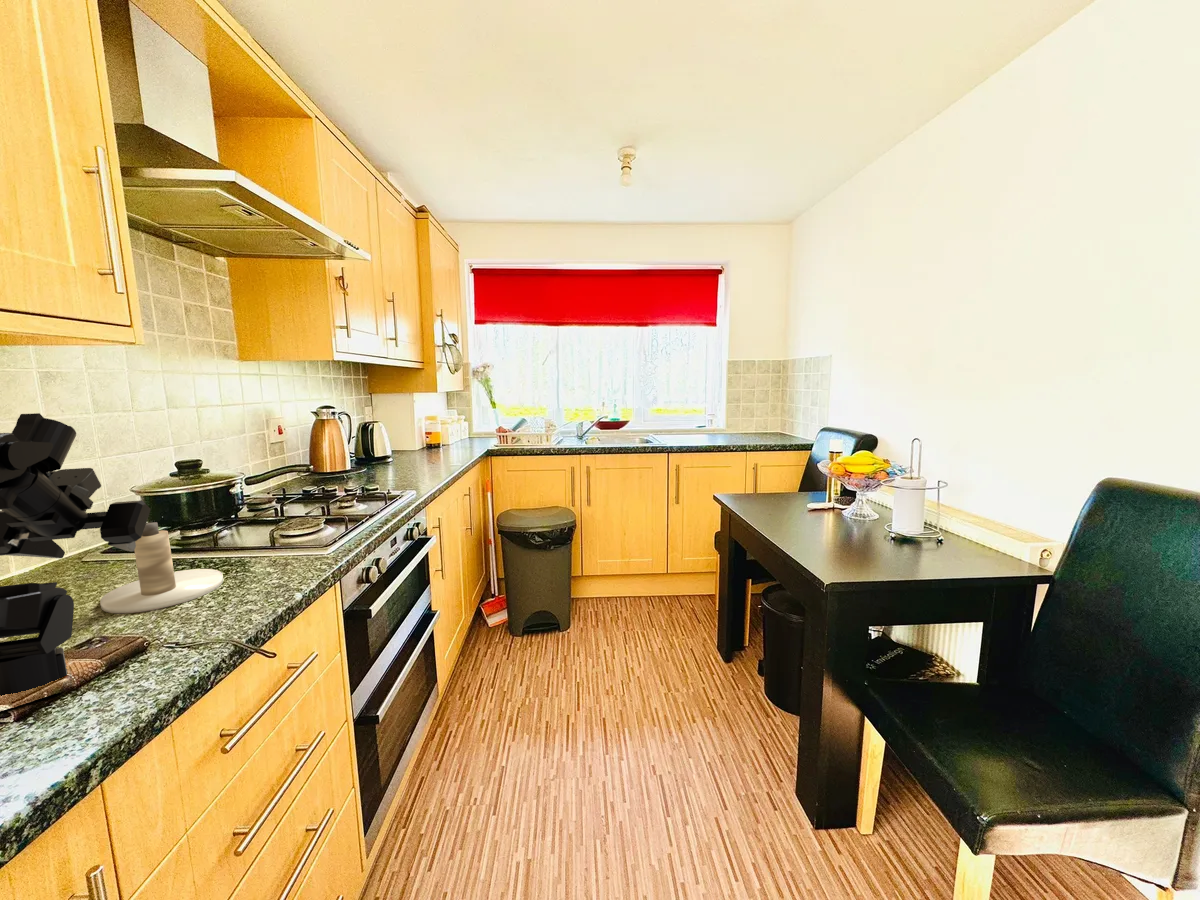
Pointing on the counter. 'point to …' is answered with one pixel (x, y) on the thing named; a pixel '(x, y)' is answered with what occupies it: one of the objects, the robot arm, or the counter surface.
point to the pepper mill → (154, 561)
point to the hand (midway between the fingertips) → (98, 552)
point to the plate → (186, 589)
